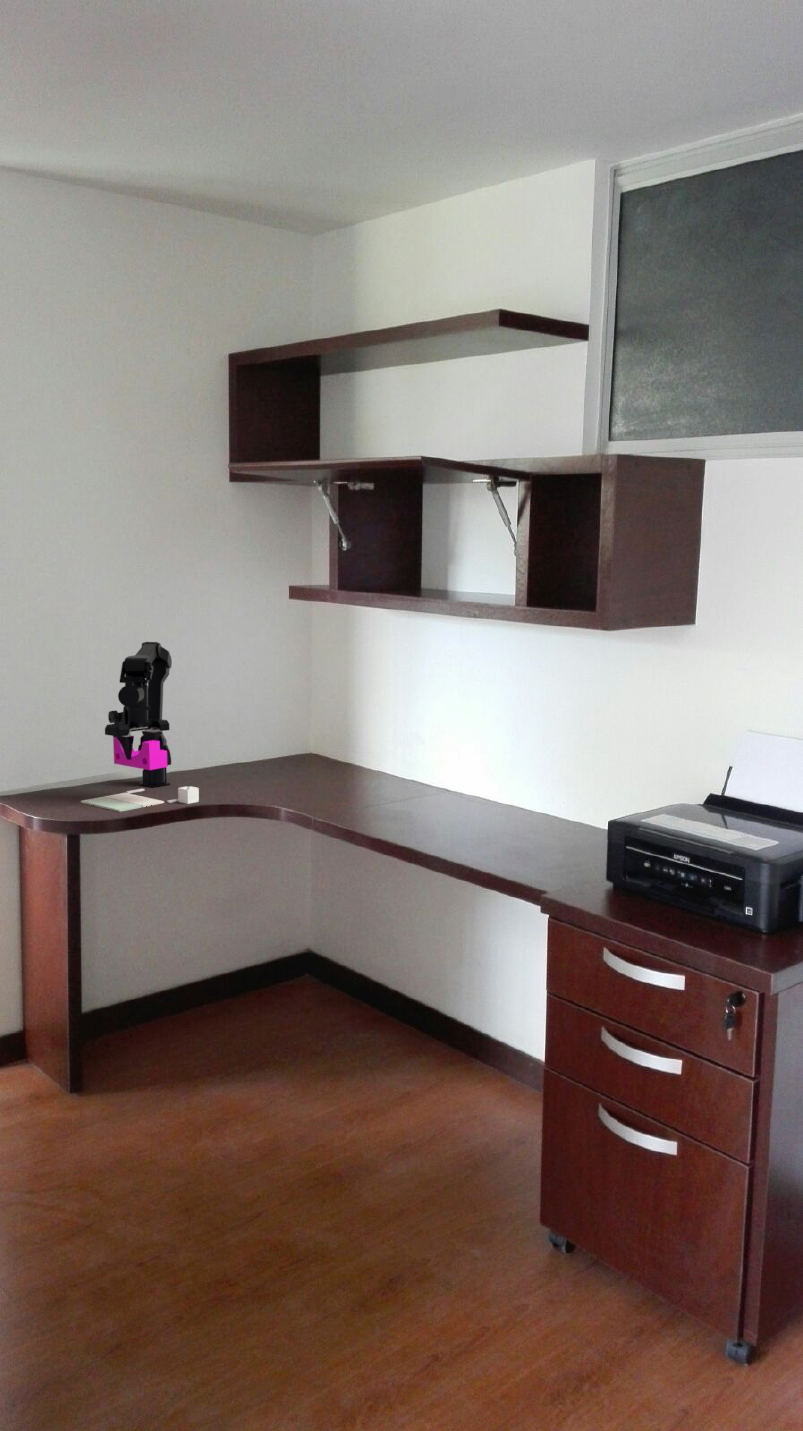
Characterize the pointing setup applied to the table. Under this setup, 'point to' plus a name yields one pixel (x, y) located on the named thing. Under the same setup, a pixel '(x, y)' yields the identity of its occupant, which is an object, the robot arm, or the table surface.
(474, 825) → the table surface
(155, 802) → the game board
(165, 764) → the toy block
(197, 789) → the die
